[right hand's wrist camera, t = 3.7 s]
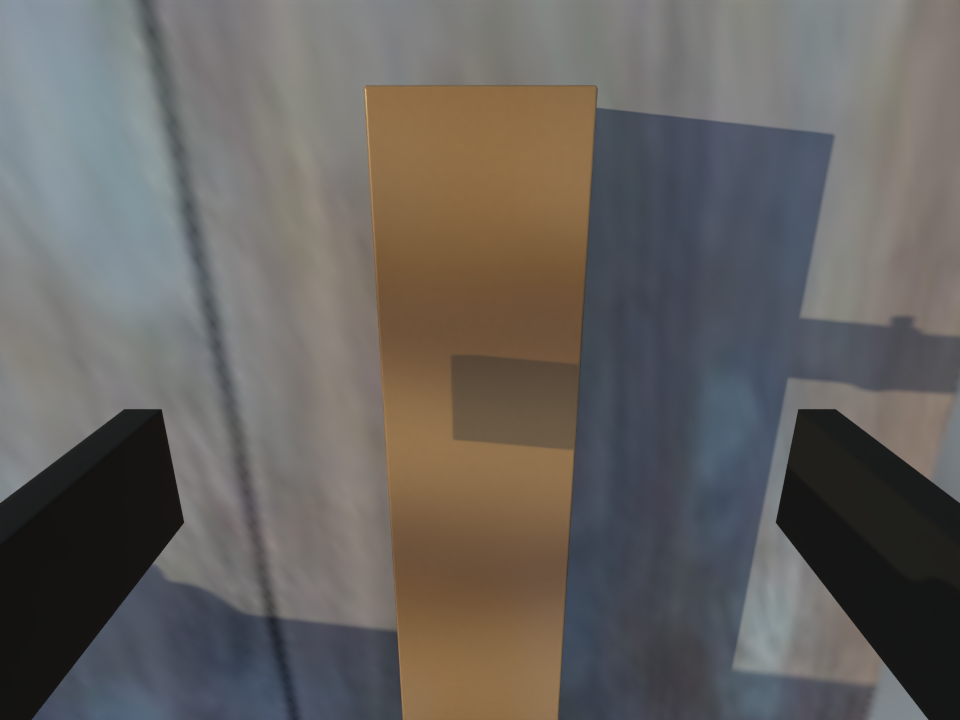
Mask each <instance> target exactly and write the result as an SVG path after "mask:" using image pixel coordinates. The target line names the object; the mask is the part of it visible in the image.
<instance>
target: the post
mask: <svg viewBox="0 0 960 720" xmlns="http://www.w3.org/2000/svg"><path fill="white" fill-rule="evenodd" d="M597 90H598V89H597V86H595V85H470V86H365V87H364V99H365V115H366V131H367V148H368V164H369V180H370V196H371V213H372V229H373V245H374V261H375V278H376V294H377V310H378V326H379V342H380V359H381V375H382V391H383V407H384V424H385V440H386V456H387V472H388V488H389V505H390V521H391V537H392V553H393V570H394V586H395V602H396V618H397V634H398V651H399V667H400V683H401V699H402V716H403V720H558V717H559V701H560V685H561V668H562V652H563V636H564V620H565V604H566V588H567V572H568V556H569V540H570V524H571V508H572V492H573V476H574V460H575V443H576V427H577V411H578V395H579V379H580V363H581V347H582V331H583V315H584V299H585V283H586V267H587V251H588V235H589V218H590V202H591V186H592V170H593V154H594V138H595V122H596V106H597Z"/></svg>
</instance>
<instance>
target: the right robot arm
mask: <svg viewBox="0 0 960 720" xmlns="http://www.w3.org/2000/svg"><path fill="white" fill-rule="evenodd" d="M183 523H184V520H183V515H182V510H181V504H180V499H179V494H178V489H177V484H176V479H175V474H174V469H173V464H172V459H171V454H170V449H169V444H168V439H167V434H166V429H165V424H164V419H163V414H162V409H124V410H123V411H122V412H120V413H119V414H118V415H116V416H115V417H114V418H112V419H111V420H110V421H108V422H107V423H106V424H104V425H103V426H102V427H100V428H99V429H98V430H96V431H95V432H94V433H92V434H91V435H90V436H88V437H87V438H86V439H84V440H83V441H82V442H81V443H79V444H78V445H77V446H75V447H74V448H73V449H71V450H70V451H69V452H67V453H66V454H65V455H63V456H62V457H61V458H59V459H58V460H57V461H55V462H54V463H53V464H51V465H50V466H49V467H47V468H46V469H45V470H44V471H42V472H41V473H40V474H38V475H37V476H36V477H34V478H33V479H32V480H30V481H29V482H28V483H26V484H25V485H24V486H22V487H21V488H20V489H18V490H17V491H16V492H14V493H13V494H12V495H10V496H9V497H8V498H6V499H5V500H4V501H3V502H1V503H0V720H32V718H33V717H34V716H35V715H36V713H37V712H38V711H39V709H40V708H41V707H42V706H43V704H44V703H45V702H46V700H47V699H48V698H49V696H50V695H51V694H52V693H53V691H54V690H55V689H56V687H57V686H58V685H59V684H60V682H61V681H62V680H63V678H64V677H65V676H66V675H67V673H68V672H69V671H70V669H71V668H72V667H73V665H74V664H75V663H76V662H77V660H78V659H79V658H80V656H81V655H82V654H83V653H84V651H85V650H86V649H87V647H88V646H89V645H90V644H91V642H92V641H93V640H94V638H95V637H96V636H97V634H98V633H99V632H100V631H101V629H102V628H103V627H104V625H105V624H106V623H107V622H108V620H109V619H110V618H111V616H112V615H113V614H114V613H115V611H116V610H117V609H118V607H119V606H120V605H121V603H122V602H123V601H124V600H125V598H126V597H127V596H128V594H129V593H130V592H131V591H132V589H133V588H134V587H135V585H136V584H137V583H138V582H139V580H140V579H141V578H142V576H143V575H144V574H145V572H146V571H147V570H148V569H149V567H150V566H151V565H152V563H153V562H154V561H155V560H156V558H157V557H158V556H159V554H160V553H161V552H162V551H163V549H164V548H165V547H166V545H167V544H168V543H169V541H170V540H171V539H172V538H173V536H174V535H175V534H176V532H177V531H178V530H179V529H180V527H181V526H182V525H183ZM776 523H777V525H778V526H779V527H780V529H781V530H782V531H783V532H784V534H785V535H786V536H787V538H788V539H789V540H790V541H791V543H792V544H793V545H794V547H795V548H796V549H797V551H798V552H799V553H800V554H801V556H802V557H803V558H804V560H805V561H806V562H807V563H808V565H809V566H810V567H811V569H812V570H813V571H814V572H815V574H816V575H817V576H818V578H819V579H820V580H821V582H822V583H823V584H824V585H825V587H826V588H827V589H828V591H829V592H830V593H831V594H832V596H833V597H834V598H835V600H836V601H837V602H838V603H839V605H840V606H841V607H842V609H843V610H844V611H845V613H846V614H847V615H848V616H849V618H850V619H851V620H852V622H853V623H854V624H855V625H856V627H857V628H858V629H859V631H860V632H861V633H862V634H863V636H864V637H865V638H866V640H867V641H868V642H869V644H870V645H871V646H872V647H873V649H874V650H875V651H876V653H877V654H878V655H879V656H880V658H881V659H882V660H883V662H884V663H885V664H886V665H887V667H888V668H889V669H890V671H891V672H892V673H893V675H894V676H895V677H896V678H897V680H898V681H899V682H900V684H901V685H902V686H903V687H904V689H905V690H906V691H907V693H908V694H909V695H910V696H911V698H912V699H913V700H914V702H915V703H916V704H917V706H918V707H919V708H920V709H921V711H922V712H923V713H924V715H925V716H926V717H927V718H928V720H960V503H959V502H957V501H956V500H955V499H954V498H952V497H951V496H949V495H948V494H947V493H946V492H944V491H943V490H942V489H940V488H939V487H938V486H936V485H935V484H934V483H932V482H931V481H930V480H928V479H927V478H926V477H924V476H923V475H922V474H920V473H919V472H918V471H916V470H915V469H914V468H913V467H911V466H910V465H909V464H907V463H906V462H905V461H903V460H902V459H901V458H899V457H898V456H897V455H895V454H894V453H893V452H891V451H890V450H889V449H887V448H886V447H885V446H883V445H882V444H881V443H879V442H878V441H877V440H876V439H874V438H873V437H872V436H870V435H869V434H868V433H866V432H865V431H864V430H862V429H861V428H860V427H858V426H857V425H856V424H854V423H853V422H852V421H850V420H849V419H848V418H846V417H845V416H844V415H842V414H841V413H840V412H838V411H837V410H836V409H798V414H797V419H796V424H795V429H794V434H793V439H792V444H791V449H790V454H789V459H788V464H787V469H786V474H785V479H784V484H783V489H782V494H781V499H780V504H779V510H778V515H777V520H776Z"/></svg>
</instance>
